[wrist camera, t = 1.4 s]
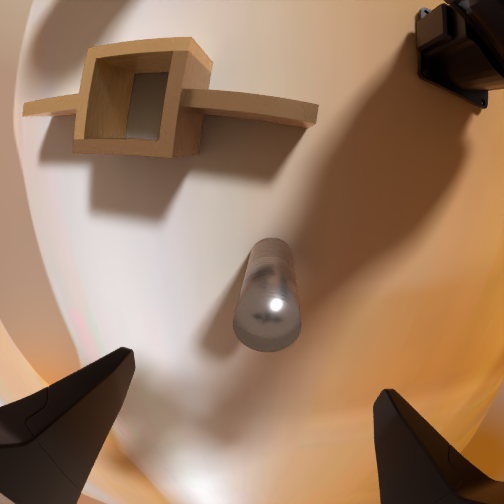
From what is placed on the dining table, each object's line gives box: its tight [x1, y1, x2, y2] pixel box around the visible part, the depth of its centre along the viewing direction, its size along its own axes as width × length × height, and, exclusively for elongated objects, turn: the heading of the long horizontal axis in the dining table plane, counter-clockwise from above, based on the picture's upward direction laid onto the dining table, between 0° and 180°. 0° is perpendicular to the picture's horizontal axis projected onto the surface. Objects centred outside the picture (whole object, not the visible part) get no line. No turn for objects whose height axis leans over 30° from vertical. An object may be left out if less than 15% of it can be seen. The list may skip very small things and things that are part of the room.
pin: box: [233, 238, 301, 352], centre depth 16 cm, size 3×3×8 cm
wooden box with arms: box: [22, 37, 319, 158], centre depth 14 cm, size 20×6×5 cm, turn 81°
